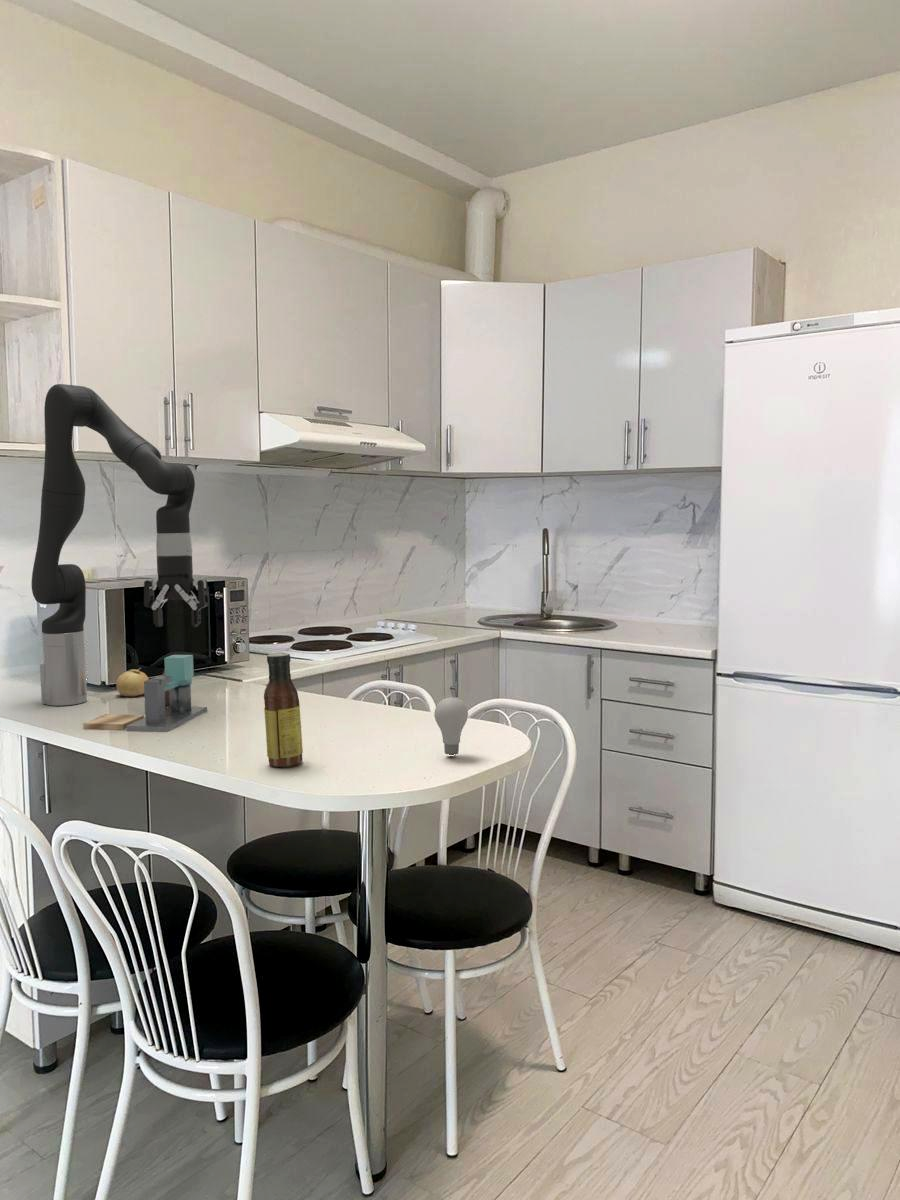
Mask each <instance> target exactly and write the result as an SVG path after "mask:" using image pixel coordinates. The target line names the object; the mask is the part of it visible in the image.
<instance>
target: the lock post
mask: <svg viewBox="0 0 900 1200" xmlns="http://www.w3.org/2000/svg"><path fill="white" fill-rule="evenodd" d="M148 679H149V680H146V681H144V694H143V695H144V718H143V719H141V720H139V721H136V722H134V723H132V724H130V725H128V726H126V727H127V729H126V731H127V732H128V731H130V732H159V733H160V732H163V733H164V732H165V733H168V732H170V731H172V730H173V729H175V728H178V727H179V726H181V725H183V724H185V723H187V722H189V721H191V720H193V719H195V718H197V717H199V716H201V715H203V714H205V713H207V712H208V706H192V692H191V691H192V689H191V686H192V684H189V685H184V686H177V687H174V688H172V689H170V690H169V693H170V706H169V707H168V706H165V692H164V685H165V684H167V683H170V682H172V677H171V676H162V675H157V676H155V677H152V678H148Z"/></svg>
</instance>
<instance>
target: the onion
mask: <svg viewBox="0 0 900 1200" xmlns="http://www.w3.org/2000/svg"><path fill="white" fill-rule="evenodd" d="M141 669H142V667H140V668H138V669H129V670H127V671H125V672H123V673H122V674H120V675H119V677H118V678H117V680H116V685H115V686H116V690H117V693H119V694H120V696H122V697H128V698H129V697H130V698H131V697H136V696H141V695H144V681H146V680H149V679H150V678H149V677H148V675H146V673H145V672H143V671H140V670H141Z"/></svg>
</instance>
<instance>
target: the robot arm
mask: <svg viewBox="0 0 900 1200" xmlns="http://www.w3.org/2000/svg"><path fill="white" fill-rule="evenodd" d="M45 395H46V396H45V399H44V407H43V408H44V412H43V413H44V414H43V415H44V463H43V464H44V465H43V466H44V467H43V468H44V469H43V479H42V485H41V486H42V487H41V488H42V489H41V499H40V501H41V502H40V517H39V519H40V520H39V528H38V529H39V530H38V539H37V544H36V545H37V546H36V550H35V551H36V552H35V556H34V561H33V565H32V566H33V568H32V575H31V592H32V596H33V597H34V600H35V601H36V602H37V603H38V604H41V605H58V604H59V607H58V609H57V611H55V612H54V613H53V614H52V615H50V616H49V617H47V618H45V619H43V620H42V623H41V637H42V639H41V640H42V655H43V657H42V658H43V663H41V664H40V665H39V671H40V672H39V674H40V693H41V704H42V705H47V706H71V705H77V704H83V703H86V702H87V701H88V691H87V672H86V670H87V669H86V653H85V651H86V650H85V649H86V647H85V633H84V624H85V621H86V615H87V614H86V612H87V611H86V608H87V607H86V605H87V604H86V600H87V598H86V597H87V595H86V594H87V589H86V588H87V585H86V578H85V575H84V572H83V570H82V569H81V568H80V566H78V565H76V564H73V563H72V564H71V563H66V564H62V563H61V564H59V562H60V561H59V560H60V556H61V552H62V549H63V546H64V545H65V542H66V541H67V540H68V538H69V536H70V534H71V533H72V532H73V530H74V529H75V528H76V527H77V525H78V523H79V522H80V520H81V518H82V517H83V514H84V508H85V499H86V498H85V497H86V482H85V478H84V476H83V473H82V471H81V469H80V466H79V464H78V462H77V459H76V457H75V454H74V451H73V433H74V432H73V430H74V427H77V428H78V427H82V428H83V427H86V428H88V429H91V430H93V431H94V432H97V433H98V434H100V435H101V436H102V437H103V438H104V439H105V440H106V441H107V445H108V446H109V449H110V450H111V451H112V454H113V455H115V456H116V457H117V459H119V460H120V461H121V462H122V463H123V464H124V465H126V466H127V467H128V468H130V469H131V470H132V471H134V472H135V473H136V474H137V476H138V478H140V480H141V482H143V484H144V485H145V486H146V487H147V488H148V489H149V490H151V492H154V493H155V494H159V495H162V496H167V499H166V502H165V503H166V504H165V505H164V506H163V505H162V506H160V507H159V508H157V510H156V513H155V517H156V519H155V520H156V524H155V525H156V540H155V541H156V543H155V548H156V549H155V550H156V570H157V573H156V574H157V580H153V579H147V580H144V582H143V605H144V607H145V608H149V609H151V610H152V620H153V625H155V627H156V628H158V627H159V628H161V627H163V626H164V618H163V609H162V607H163V606H164V604H165V603H166V602H168V601H169V600H170V601H171V600H177V601H179V600H180V601H181V600H183V601H185V603H187V604H188V605H189V606H190V608H191V609H192V610H191V611H190V612H191V613H190V614H191V616H190V617H191V627H192V628H197V627H199V626H200V625H201V622H202V614H201V611H202V609H203V608H206V607H208V606H210V601H209V600H210V599H209V590H208V581H207V580H206V579H200V580H194V578H193V574H194V573H193V572H194V571H193V570H194V569H193V568H194V567H193V548H192V547H193V546H192V545H193V544H192V539H191V527H190V513H191V512H190V511H191V508H192V504H193V499H194V494H195V487H196V483H195V482H196V481H195V476H194V473H193V470H192V469H191V468H190V467H189V466H188V465H187V464H183V463H178V462H177V463H176V462H166V461H164V460H163V459H162V454H161V451H160V450H159V449H158V448H157V447H156V446H154V445H153V444H152V443H151V442H149V441H148V440H147V439H146V438H144V437H142V436H141V435H140V434H139V433H137V432H136V431H135V430H133V428H131V427H130V426H128V424H126V423H125V421H123V420H122V419H121V418H120V416H118V414H116V413H115V412H114V411H113V410H112V408H111V407H110V406H109V405H108V404H107V402H105V401H104V399H102V398H101V396H99V394H97V392H95V390H93V389H91V388H89V387H87V386H83V385H76V384H75V385H73V384H67V383H66V384H63V383H57V384H56V383H55V384H54V385H52V386H51V387H50V388H49V389H48V391H47V392H46V394H45ZM194 587H195V589H196V590H197V593H198V594H197V595H198V599H197V596H196V595H195V593H194V592H193V589H194ZM156 589H158V590H159V591H160V592H159V594H158V595H157V596H156V598H155V590H156Z"/></svg>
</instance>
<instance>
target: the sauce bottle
mask: <svg viewBox="0 0 900 1200" xmlns="http://www.w3.org/2000/svg"><path fill="white" fill-rule="evenodd" d="M266 662H267V664H268V683H267V685H266V687H265V688H264V693H263V699H264V700H263V701H264V703H263V704H264V709H263V710H264V711H263V712H264V721H265V723H264V725H265V736H266V738H265V740H266V753H267V754H266V756H267V758H268V764H269V765H270V766H271V767H275V768H291V767H297V766H298V765H300V764H302V763H303V752H304V751H303V750H304V749H303V748H304V747H303V735H302V734H303V733H302V721H301V709H300V708H301V706H300V699H299V694H298V690H297V688H296V687H295V685H294V682H293V680H292V678H291V676H292V675H291V664H290V663H291V654H290V653H288V652H273V653H270V654H267V655H266Z"/></svg>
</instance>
